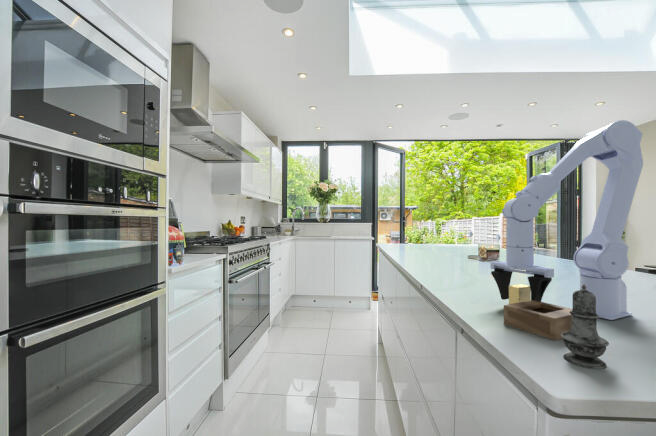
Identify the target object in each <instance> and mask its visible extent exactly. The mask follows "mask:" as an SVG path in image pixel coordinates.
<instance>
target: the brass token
mask: <svg viewBox="0 0 656 436" xmlns="http://www.w3.org/2000/svg"><path fill="white" fill-rule="evenodd" d="M525 301H531V289H530V285H527V284H522V283H521V284H512V285H510V286H509V299H508V304H514V303H520V302H525Z"/></svg>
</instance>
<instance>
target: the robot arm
mask: <svg viewBox="0 0 656 436" xmlns="http://www.w3.org/2000/svg"><path fill="white" fill-rule="evenodd" d="M643 135H644V133H643V132H642V131H641V130H640V129H639V128H638V127H637V126H636V125H635V124H634V123H632V122H631V121H628V120H623V119H622V120H617V121H613V122H612V123H610V124H608V125H606V126H604V127H601V128H599V129H597V130H592V131H590V132H588V133H587V134H585V136H584V137H582V138H581V139H579V140H578V141H577V142H576V143H575V144H573V146H572V147H571V149H570V150H568V152H566V154H565V155H564V156H563V157H562V158H560V159H559V160H558V162H557V163H556V164H555V165H554V166H553V167H552V168H551V169H550V170H549V171H548V172H546V173H545V172H544V173H539V174H537V175H533V176H531V177H530V178H529V181H530V182H529V183H527V185H525V187H524V188H523V189H522V190H521V191H520V190H519V191H516V193H514V194H515V196H516V197H515V198H511V199H509V200H507V201H506V202H505V203H504V206H503V209H501V213H502V216H503V217H504V218H505V219H506V224H505V225H506V227H505V228H506V231H505V233H506V234H505V235H506V237H505V238H506V239H505V240H506V242H505V245H506V246H505V247H506V248H505V249H506V251H505V252H506V254H505V255H506V256H505V257H506V261H498V260H494V261H490V270H493V271H491V272H490V274H491V277H492V278H493V279H494V281H495V283H496V285H497V288H498V291H499V295H500V298H501V300H509V286H511V279H512V277H513V276H512V274H513V272H514V273H520V274H526V275H531V276H527V280H528V283H529V286H530V289H531V300H535V301H539V302H542V299H543V298H544V297H543V296H544V293H545V292H546V290H547V288H548V286H549V285H550V283H551V282H552V278H554V277H555V268H551V267H545V266H541V265H540V266H539V265H535V264H534V261H535V260H534V257H535V254H534V252H535V251H534V250H535V249H534V244H535V243H534V230H535V229H534V218H537V217H538V215H539V213H540V209H541V207H543V206H544V205H545V204H546V203H547V202H548V201H549V200H550V199H551V198H553V196H554V195H556V194H557V193H558V192H559V191H560V189H561V181H563V179H565V178H566V177H568V175H569V174H570V173H572V172H573V171H575V169H577V168H578V167H579V166H580V165H581V164H582V163H584V161H586V160H587V159H588V158H590V157H591V158H593V159H594V160H596V161H598V162H600V163H601V164H603V165H604V166H605V167H606V168H608V171H609V172H608V175H607V177H606V178H607V179H606V182H605V185H604V188H603V192H602V195H601V197H600V202H599V205H598V208H597V212H596V216H595V219H594V222H593V225H592V229H591V232H590V233H589V234H588V235H587V236H586V237H584V238H583V240H582V242H581V244H580V246H579V247H578V249H576V250H575V252H574V253H573V262H574V265H575V266H576V267H577V268H578V270H579V290H581V289H582V285H585V286H586V287H587V288H586V290H588V291H589V292H591V293H593V294H594V295H595V297H596V314H597V315H599V317H598V318H601V319H604V320H610V321H614V320H618V319H620V318H625V317H629V316H632V315H633V312H630V311H627V310H628V309H627V307H628V301H627V299H628V295H627V294H628V292H627V291H628V290H627V288H628V287H627V285H626V282H625V281H624V280H623V279H622V276H623V275H624V274H625V273H626V272H627V271H628V269H629V264H630V263H629V259H628V252H629V246H628V245H627V244H626V243H625V241H624V240H623V238H622V237H623V234H624V230H625V228H626V224H627V221H628V218H629V215H630V211H631V207H632V203H633V200H634V197H635V193H636V191H637V186H638V183H639V180H640V176H641V173H642V170H643V166H644V158H643V154H642V149H641V141H642V137H643Z"/></svg>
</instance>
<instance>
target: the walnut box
mask: <svg viewBox="0 0 656 436" xmlns="http://www.w3.org/2000/svg"><path fill="white" fill-rule="evenodd" d="M572 310H573V308H570V307H566V306H561V305H556V304H554V303H553V304H552V303H547V302H544V301H541V302H539V301H535V300H531V301H525V302H520V303H514V304H509V303H508V304H504V305H503V325H505V326H509V327H511V328H515V329H517V330H521V331H524V332H527V333H531V334H534V335H536V336H540V337H543V338H546V339H549V340H552V341H557V340H561V339H563V337H562V336H561V334H562V333H563V332H569V331H570V330H571V327H572V314H570V311H572Z"/></svg>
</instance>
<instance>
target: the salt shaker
mask: <svg viewBox="0 0 656 436" xmlns="http://www.w3.org/2000/svg"><path fill="white" fill-rule="evenodd" d="M586 288H587V287H586V286H585V285H582V289H581V290H580V289H579V290H576V291H574V292H573V293H572V309H573V310H572V311H570V314H572V327H571V330H570V331H569V332H563V333H562V334H561V336H562V337H563V338H562V339H563V343H564V346H565V347H566V349H568V350H569V352H567V353H564V354H563V359H564V360H565V361H566V362H568V363H570V364H573V365H575V366H579V367H582V368H585V369H594V370H603V369H605V368H607V363H605V362H604V360H602V359H600V357H601V356H603V355H604V354H605V352H606V351H607V347H608V346H609V345H610V342H609V341H608V340H607V339H606V338H604V337H600V335H599V333H598V330H597V329H598V328H597V322H598V321H597V319H598V318H600V317H599V315H597V314H596V297H595V295H594V294H593V293H591V292H589V291H588V290H586Z"/></svg>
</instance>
